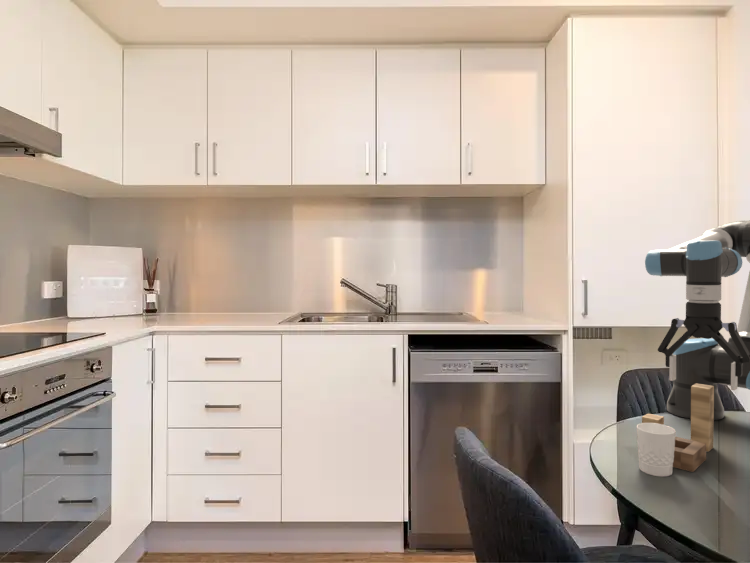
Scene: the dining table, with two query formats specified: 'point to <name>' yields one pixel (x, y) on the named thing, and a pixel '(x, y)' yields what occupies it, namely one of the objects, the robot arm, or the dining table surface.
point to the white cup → (656, 448)
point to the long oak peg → (702, 414)
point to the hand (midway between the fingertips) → (702, 384)
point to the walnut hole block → (688, 454)
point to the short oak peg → (653, 419)
